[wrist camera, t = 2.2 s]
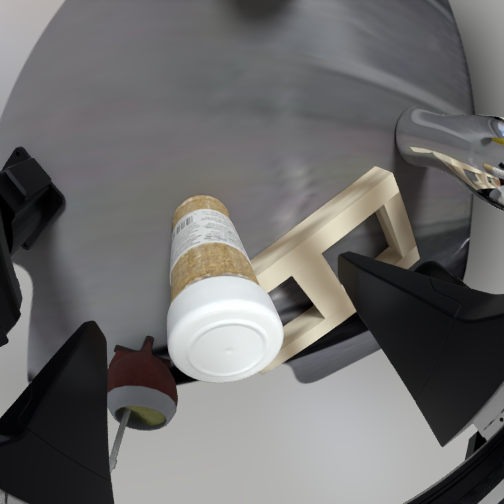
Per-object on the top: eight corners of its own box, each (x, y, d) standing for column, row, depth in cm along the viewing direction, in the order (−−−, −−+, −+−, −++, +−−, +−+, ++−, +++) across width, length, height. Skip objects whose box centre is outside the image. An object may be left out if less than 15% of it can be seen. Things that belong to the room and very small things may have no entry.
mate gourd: (184, 342, 27) (202, 483, 14) (161, 384, 29) (171, 501, 17) (114, 321, 24) (94, 469, 11) (101, 367, 26) (90, 489, 13)
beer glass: (441, 157, 24) (555, 208, 11) (399, 179, 24) (527, 249, 11) (429, 96, 20) (560, 125, 7) (383, 111, 20) (537, 147, 7)
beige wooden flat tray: (257, 358, 30) (263, 376, 28) (190, 305, 25) (192, 325, 23) (405, 247, 28) (421, 259, 26) (375, 166, 23) (394, 173, 20)
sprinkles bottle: (196, 257, 23) (217, 398, 11) (160, 217, 21) (141, 349, 9) (241, 225, 22) (305, 349, 11) (207, 180, 20) (244, 280, 9)
